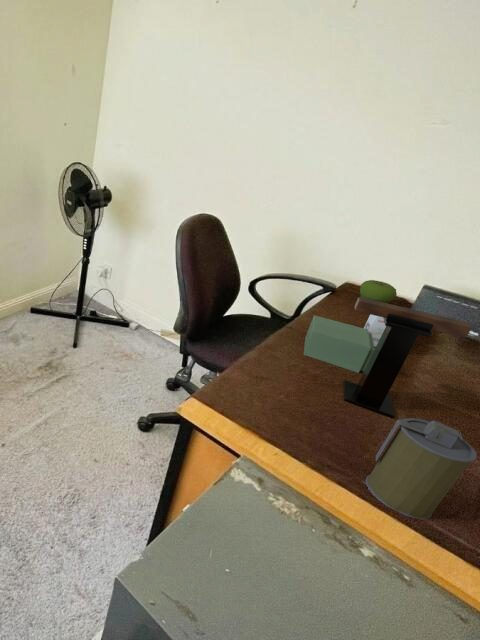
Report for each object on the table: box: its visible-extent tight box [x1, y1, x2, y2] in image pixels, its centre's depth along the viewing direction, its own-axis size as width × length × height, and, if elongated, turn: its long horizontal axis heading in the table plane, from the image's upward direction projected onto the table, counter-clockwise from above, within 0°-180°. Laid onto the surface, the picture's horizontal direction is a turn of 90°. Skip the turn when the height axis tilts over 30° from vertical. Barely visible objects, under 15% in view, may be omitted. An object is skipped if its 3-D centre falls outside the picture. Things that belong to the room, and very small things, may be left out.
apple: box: [359, 279, 398, 304], centre depth 163 cm, size 11×10×10 cm
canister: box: [365, 417, 478, 520], centre depth 83 cm, size 11×10×20 cm
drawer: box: [359, 334, 376, 373], centre depth 129 cm, size 17×11×8 cm
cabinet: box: [303, 314, 371, 374], centre depth 131 cm, size 14×13×10 cm
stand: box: [342, 314, 433, 420], centre depth 109 cm, size 10×10×28 cm
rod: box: [354, 296, 473, 339], centre depth 103 cm, size 20×3×3 cm, turn 51°
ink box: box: [363, 314, 386, 346], centre depth 135 cm, size 9×5×12 cm, turn 59°
